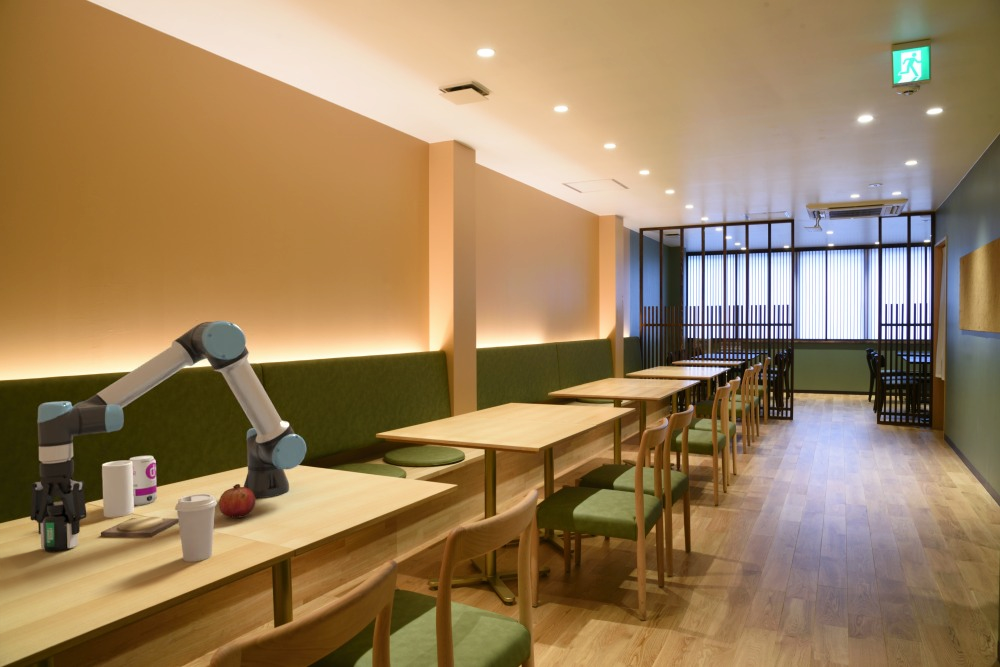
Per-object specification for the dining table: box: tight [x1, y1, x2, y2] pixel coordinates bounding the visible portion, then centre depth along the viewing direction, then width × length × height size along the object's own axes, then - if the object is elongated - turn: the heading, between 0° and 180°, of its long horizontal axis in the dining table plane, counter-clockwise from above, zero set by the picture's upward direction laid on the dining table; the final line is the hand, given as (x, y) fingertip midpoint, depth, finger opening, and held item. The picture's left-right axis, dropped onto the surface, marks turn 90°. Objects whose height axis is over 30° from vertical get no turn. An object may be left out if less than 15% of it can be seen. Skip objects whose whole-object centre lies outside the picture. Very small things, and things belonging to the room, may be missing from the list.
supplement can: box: [128, 455, 158, 506], centre depth 215 cm, size 8×8×15 cm
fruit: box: [218, 483, 256, 519], centre depth 195 cm, size 11×10×10 cm
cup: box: [101, 459, 135, 518], centre depth 202 cm, size 8×8×16 cm
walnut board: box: [100, 516, 179, 538], centre depth 186 cm, size 15×13×2 cm
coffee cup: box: [174, 493, 218, 563], centre depth 162 cm, size 10×10×15 cm
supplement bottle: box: [43, 500, 71, 553], centre depth 171 cm, size 7×7×12 cm
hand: (59, 546), depth 171 cm, fingers closed on supplement bottle, 7 cm apart
